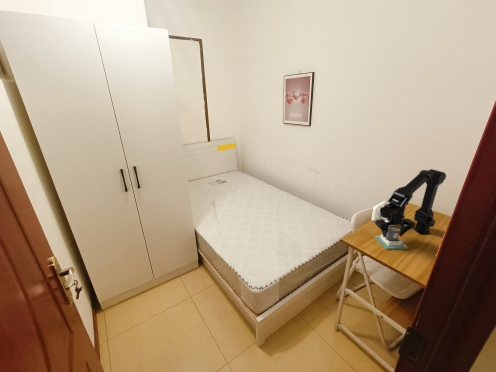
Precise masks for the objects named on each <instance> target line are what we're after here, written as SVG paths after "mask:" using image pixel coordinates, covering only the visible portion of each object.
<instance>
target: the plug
mask: <svg viewBox="0 0 496 372" xmlns="http://www.w3.org/2000/svg"><path fill="white" fill-rule="evenodd" d="M399 232H400V229H399V230H398V228H397V227H395V226H391V227H389V228H388V232H387V234H386V239H387V240H388V241H397V240H398V238H399V237H400V236H399Z"/></svg>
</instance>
